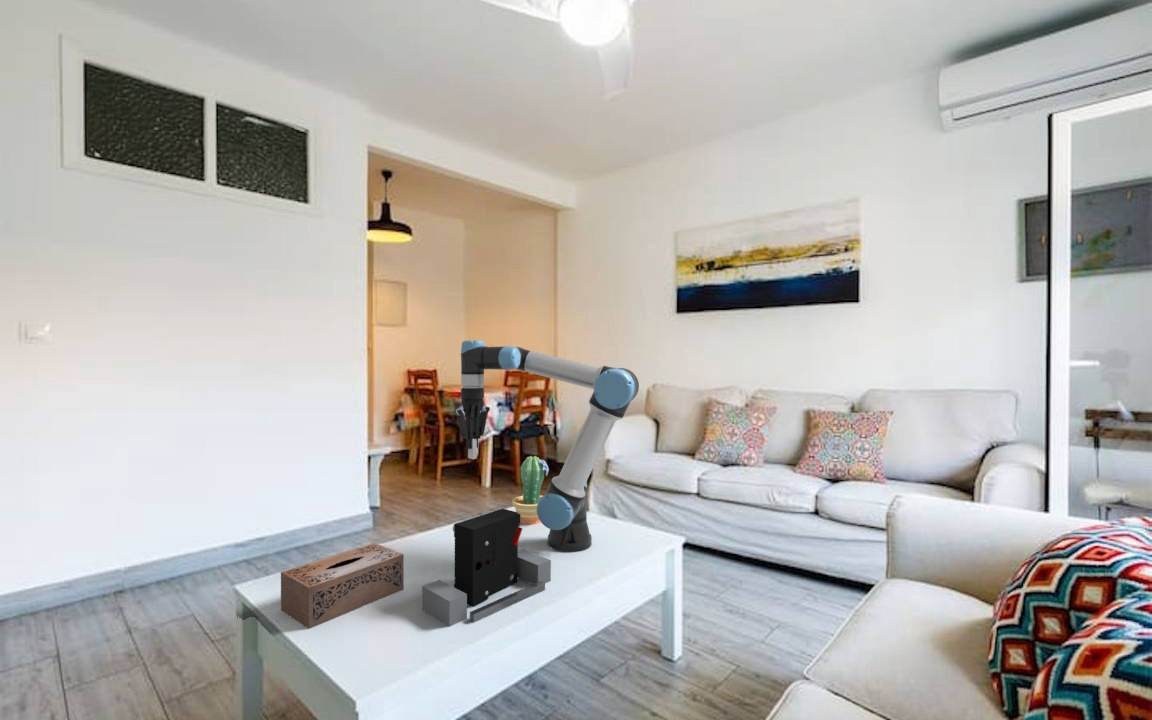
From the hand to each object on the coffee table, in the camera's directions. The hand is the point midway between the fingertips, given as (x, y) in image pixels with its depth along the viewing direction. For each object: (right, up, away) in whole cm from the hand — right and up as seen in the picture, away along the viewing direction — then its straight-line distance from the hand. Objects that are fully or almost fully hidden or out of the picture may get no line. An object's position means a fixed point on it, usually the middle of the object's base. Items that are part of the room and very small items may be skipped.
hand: (472, 458), depth 172 cm
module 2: (+21, -31, -21) cm, 43 cm away
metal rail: (+17, -31, -37) cm, 51 cm away
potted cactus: (+17, -30, +31) cm, 46 cm away
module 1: (+1, -31, -42) cm, 52 cm away
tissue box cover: (-27, -31, -35) cm, 54 cm away
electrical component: (+10, -31, -29) cm, 44 cm away
